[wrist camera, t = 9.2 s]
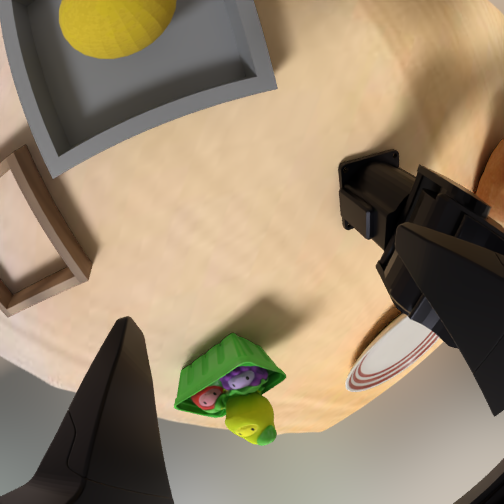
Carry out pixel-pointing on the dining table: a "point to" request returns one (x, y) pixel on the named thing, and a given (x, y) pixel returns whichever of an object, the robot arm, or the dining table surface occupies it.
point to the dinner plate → (390, 353)
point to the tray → (129, 75)
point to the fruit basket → (232, 388)
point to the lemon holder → (54, 230)
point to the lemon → (114, 25)
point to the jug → (494, 184)
